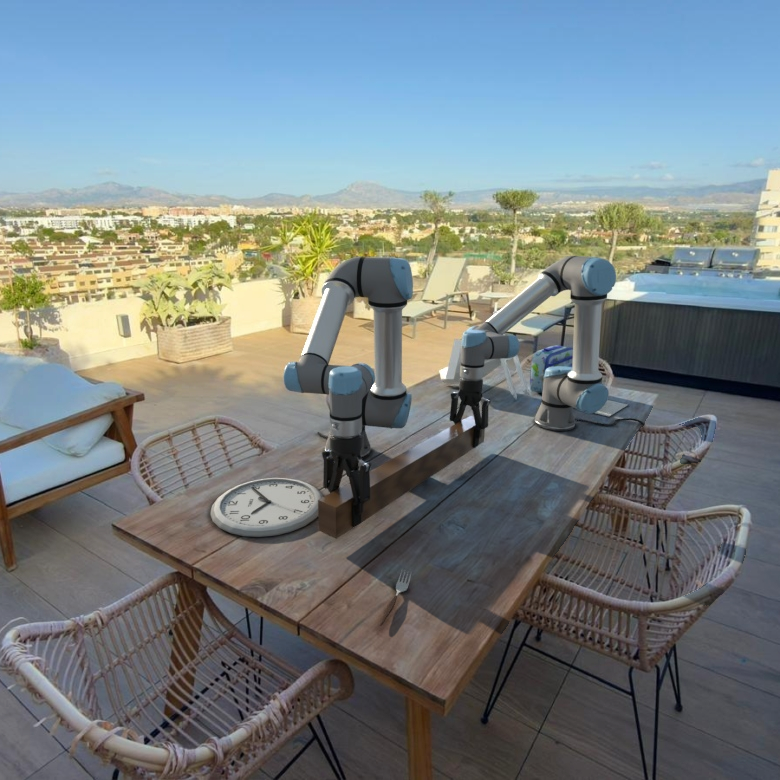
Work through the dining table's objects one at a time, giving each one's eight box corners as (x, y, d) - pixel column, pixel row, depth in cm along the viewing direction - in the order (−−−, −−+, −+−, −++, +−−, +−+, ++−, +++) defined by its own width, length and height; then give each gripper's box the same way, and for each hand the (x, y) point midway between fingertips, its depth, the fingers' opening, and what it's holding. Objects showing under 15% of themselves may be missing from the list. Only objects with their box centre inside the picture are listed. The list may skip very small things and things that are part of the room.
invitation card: (608, 416, 214) (573, 407, 224) (608, 416, 214) (573, 408, 224) (628, 404, 229) (594, 396, 238) (628, 405, 229) (594, 397, 238)
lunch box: (546, 398, 236) (551, 353, 229) (525, 393, 243) (529, 349, 237) (573, 387, 253) (579, 344, 247) (553, 382, 260) (558, 341, 254)
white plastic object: (461, 429, 252) (437, 405, 227) (444, 352, 274) (420, 323, 250) (535, 404, 240) (518, 377, 215) (510, 326, 262) (492, 293, 237)
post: (469, 437, 183) (470, 415, 181) (483, 441, 180) (485, 419, 178) (318, 530, 126) (317, 499, 123) (336, 539, 123) (335, 507, 120)
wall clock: (322, 529, 128) (196, 532, 126) (322, 534, 129) (197, 538, 126) (326, 473, 157) (223, 476, 154) (326, 478, 157) (224, 481, 155)
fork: (373, 626, 100) (374, 617, 99) (401, 576, 114) (401, 568, 113) (386, 630, 99) (386, 621, 98) (412, 579, 113) (412, 571, 112)
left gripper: (306, 428, 125) (308, 514, 132) (366, 448, 114) (366, 540, 121) (327, 419, 131) (329, 502, 138) (387, 438, 120) (385, 526, 127)
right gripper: (440, 375, 172) (437, 440, 179) (492, 386, 161) (487, 455, 168) (452, 370, 178) (448, 434, 184) (503, 380, 167) (497, 447, 174)
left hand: (346, 519), depth 129 cm, fingers closed on post, 6 cm apart
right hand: (467, 443), depth 176 cm, fingers closed on post, 6 cm apart
